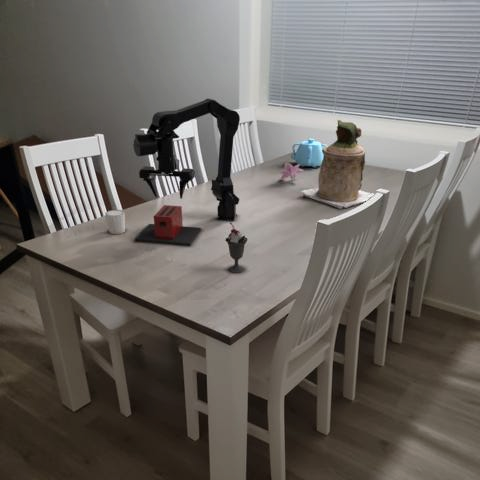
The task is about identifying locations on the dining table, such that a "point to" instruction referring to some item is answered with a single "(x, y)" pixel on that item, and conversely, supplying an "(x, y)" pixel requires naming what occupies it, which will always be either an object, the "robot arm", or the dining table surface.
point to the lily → (290, 171)
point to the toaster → (168, 222)
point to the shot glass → (116, 221)
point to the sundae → (236, 248)
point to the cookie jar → (341, 170)
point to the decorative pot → (308, 153)
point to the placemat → (182, 238)
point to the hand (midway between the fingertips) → (168, 197)
